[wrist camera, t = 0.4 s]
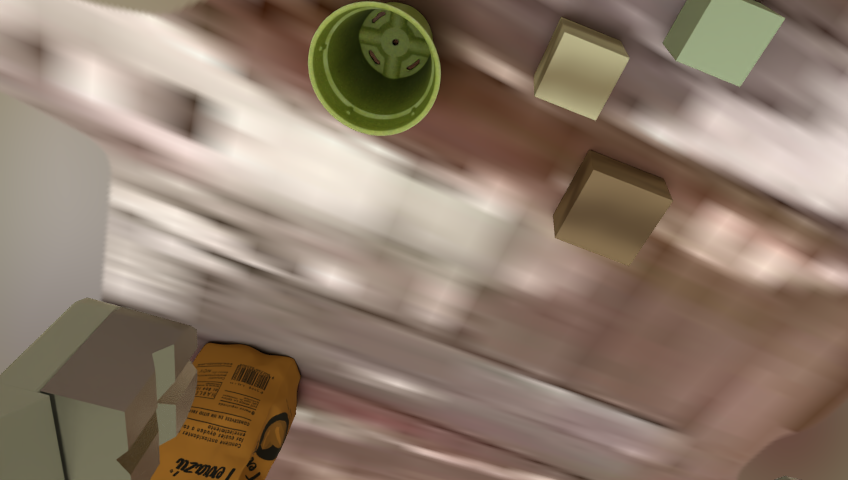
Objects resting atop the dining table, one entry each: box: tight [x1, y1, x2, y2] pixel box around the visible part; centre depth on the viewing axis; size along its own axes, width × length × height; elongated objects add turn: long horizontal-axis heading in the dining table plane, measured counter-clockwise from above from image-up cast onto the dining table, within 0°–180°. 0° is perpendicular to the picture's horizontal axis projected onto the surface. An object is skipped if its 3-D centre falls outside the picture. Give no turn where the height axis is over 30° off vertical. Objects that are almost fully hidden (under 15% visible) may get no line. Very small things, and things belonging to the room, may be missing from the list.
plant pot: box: [308, 1, 441, 136], centre depth 46 cm, size 9×9×9 cm
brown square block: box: [553, 150, 673, 266], centre depth 53 cm, size 7×7×4 cm
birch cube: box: [534, 17, 630, 120], centre depth 47 cm, size 5×5×5 cm
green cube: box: [663, 0, 785, 87], centre depth 44 cm, size 5×5×5 cm
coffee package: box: [150, 343, 300, 480], centre depth 64 cm, size 10×12×22 cm
